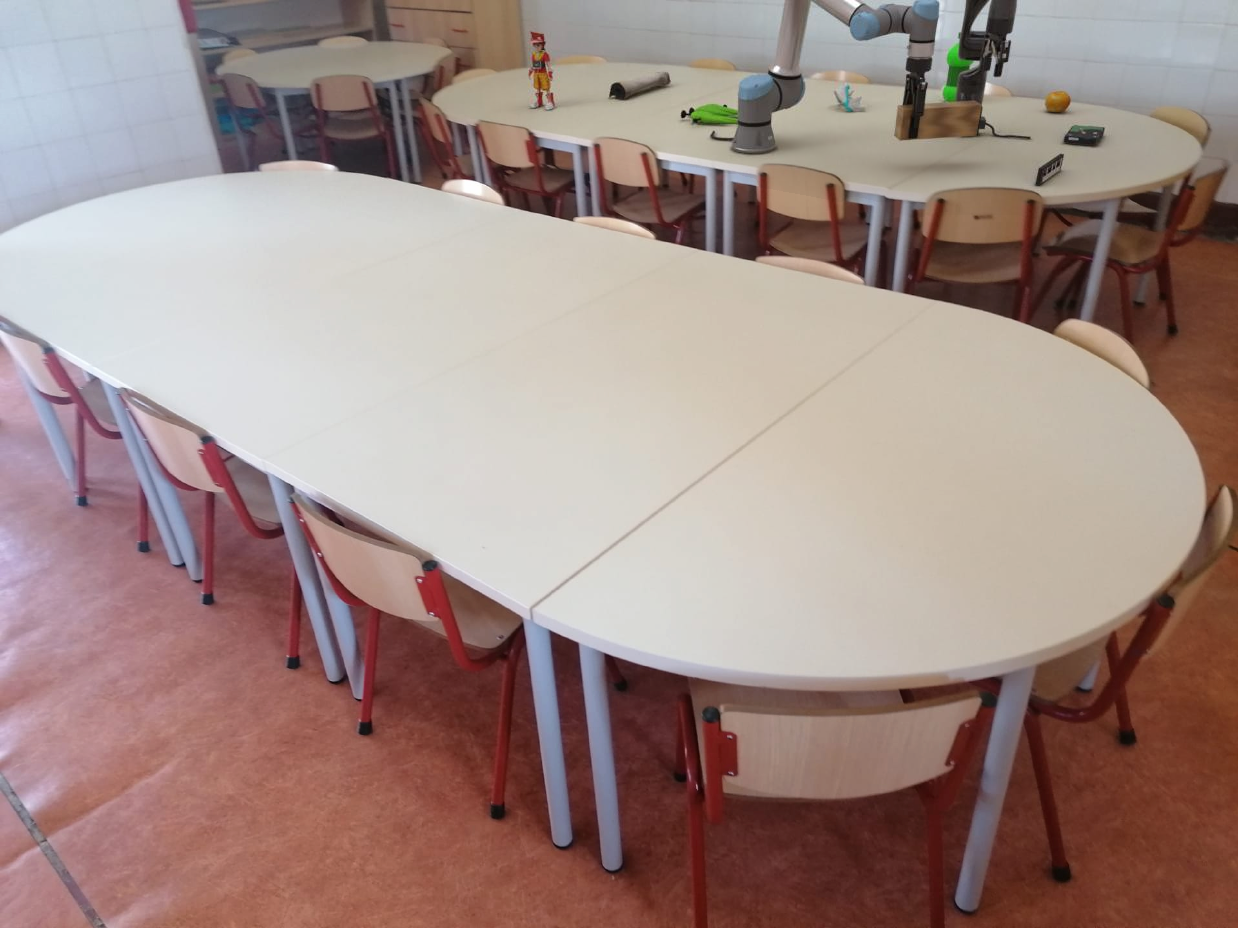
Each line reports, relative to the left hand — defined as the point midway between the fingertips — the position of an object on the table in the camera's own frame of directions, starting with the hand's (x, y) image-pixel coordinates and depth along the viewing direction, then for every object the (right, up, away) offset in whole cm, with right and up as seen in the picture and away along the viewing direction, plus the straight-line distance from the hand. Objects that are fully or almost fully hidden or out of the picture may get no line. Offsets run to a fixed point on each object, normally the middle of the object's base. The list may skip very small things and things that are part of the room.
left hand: (909, 135), depth 284 cm
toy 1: (-125, +48, +99) cm, 166 cm away
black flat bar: (+39, -17, -10) cm, 44 cm away
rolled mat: (-83, +60, +113) cm, 152 cm away
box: (+8, 0, 0) cm, 8 cm away
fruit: (+72, +28, +51) cm, 92 cm away
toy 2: (-52, +30, +66) cm, 89 cm away
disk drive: (+66, +6, +21) cm, 69 cm away
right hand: (+22, +15, -10) cm, 28 cm away
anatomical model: (-1, +37, +72) cm, 81 cm away
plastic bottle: (+41, +39, +70) cm, 90 cm away
